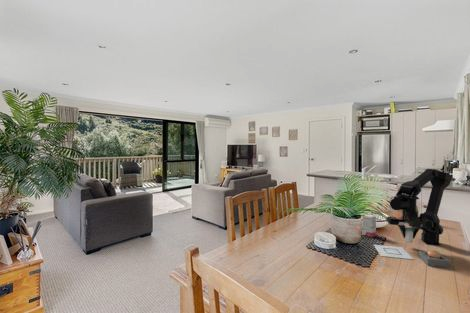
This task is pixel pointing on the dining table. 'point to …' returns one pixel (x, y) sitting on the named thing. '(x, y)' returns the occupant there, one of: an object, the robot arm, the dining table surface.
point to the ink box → (369, 225)
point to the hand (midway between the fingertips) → (408, 238)
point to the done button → (433, 254)
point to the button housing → (434, 260)
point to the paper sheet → (392, 252)
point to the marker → (408, 234)
